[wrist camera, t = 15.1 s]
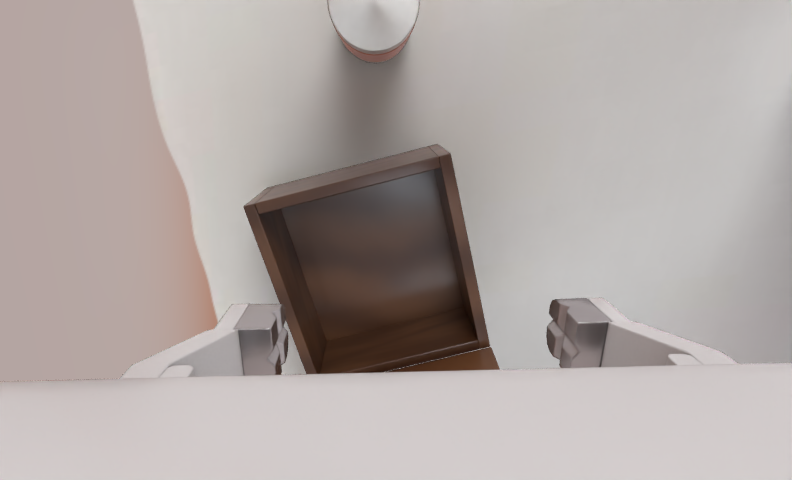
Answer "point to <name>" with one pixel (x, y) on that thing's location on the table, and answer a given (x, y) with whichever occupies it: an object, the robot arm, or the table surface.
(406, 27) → the can
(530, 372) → the robot arm
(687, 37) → the table surface
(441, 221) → the chest
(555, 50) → the table surface
